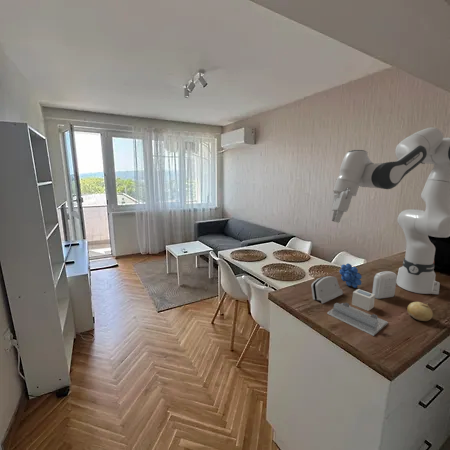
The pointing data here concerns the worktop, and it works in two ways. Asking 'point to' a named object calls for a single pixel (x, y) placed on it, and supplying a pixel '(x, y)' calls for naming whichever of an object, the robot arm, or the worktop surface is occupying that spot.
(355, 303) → the block
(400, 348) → the worktop surface
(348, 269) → the grapes
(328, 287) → the white toaster
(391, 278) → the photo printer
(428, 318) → the onion
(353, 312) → the rail base
